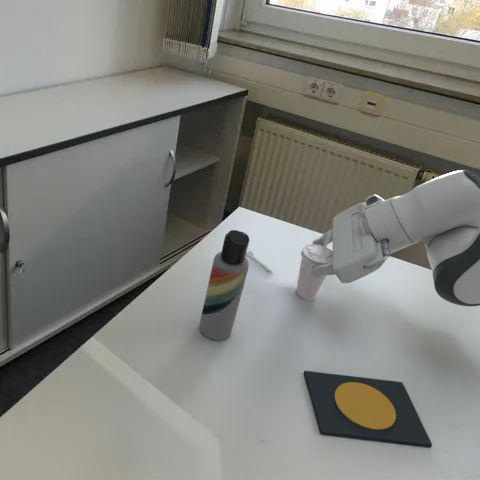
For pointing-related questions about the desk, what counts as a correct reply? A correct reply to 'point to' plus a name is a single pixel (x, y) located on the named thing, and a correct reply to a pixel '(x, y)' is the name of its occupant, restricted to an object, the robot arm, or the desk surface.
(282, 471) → the desk surface
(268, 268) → the white spoon
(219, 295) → the lotion bottle
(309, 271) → the smoothie
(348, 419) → the mat
